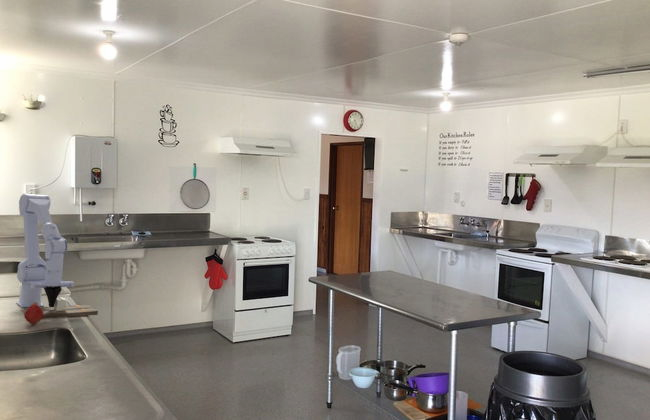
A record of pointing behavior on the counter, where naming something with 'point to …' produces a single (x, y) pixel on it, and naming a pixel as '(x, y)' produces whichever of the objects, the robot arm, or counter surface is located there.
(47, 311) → the fader console
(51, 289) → the robot arm
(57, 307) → the fader knob
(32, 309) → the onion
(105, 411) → the counter surface
